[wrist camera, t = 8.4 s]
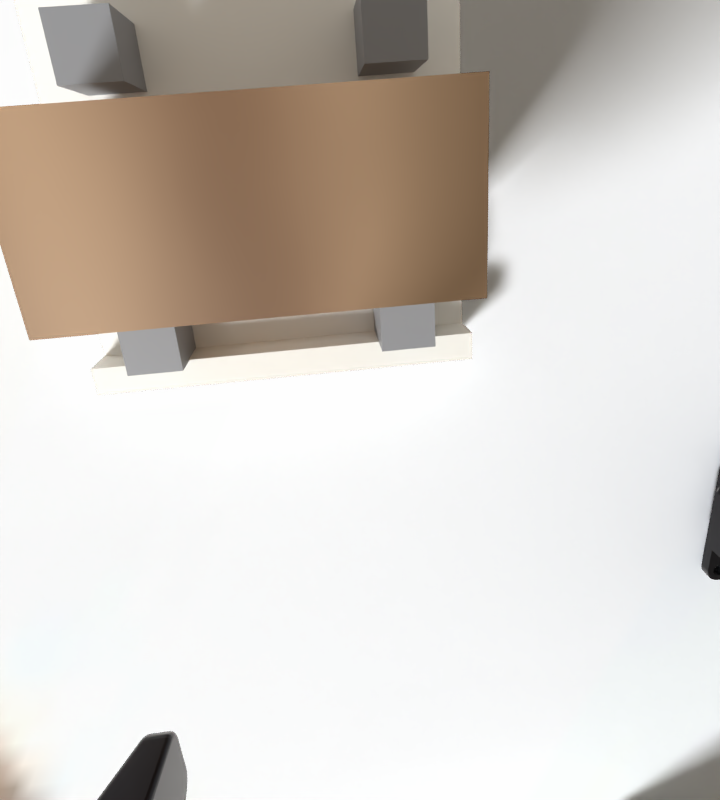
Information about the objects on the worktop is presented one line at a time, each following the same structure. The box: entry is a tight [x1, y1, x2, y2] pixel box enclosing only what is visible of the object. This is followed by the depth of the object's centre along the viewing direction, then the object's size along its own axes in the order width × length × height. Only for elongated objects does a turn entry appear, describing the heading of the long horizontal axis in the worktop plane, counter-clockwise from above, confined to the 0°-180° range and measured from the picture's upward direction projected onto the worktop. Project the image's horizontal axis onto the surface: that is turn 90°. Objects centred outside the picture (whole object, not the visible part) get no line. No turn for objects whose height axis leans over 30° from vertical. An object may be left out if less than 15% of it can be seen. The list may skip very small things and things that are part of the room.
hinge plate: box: [14, 0, 472, 395], centre depth 16 cm, size 11×10×3 cm
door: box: [0, 71, 489, 340], centre depth 13 cm, size 10×4×6 cm, turn 94°
